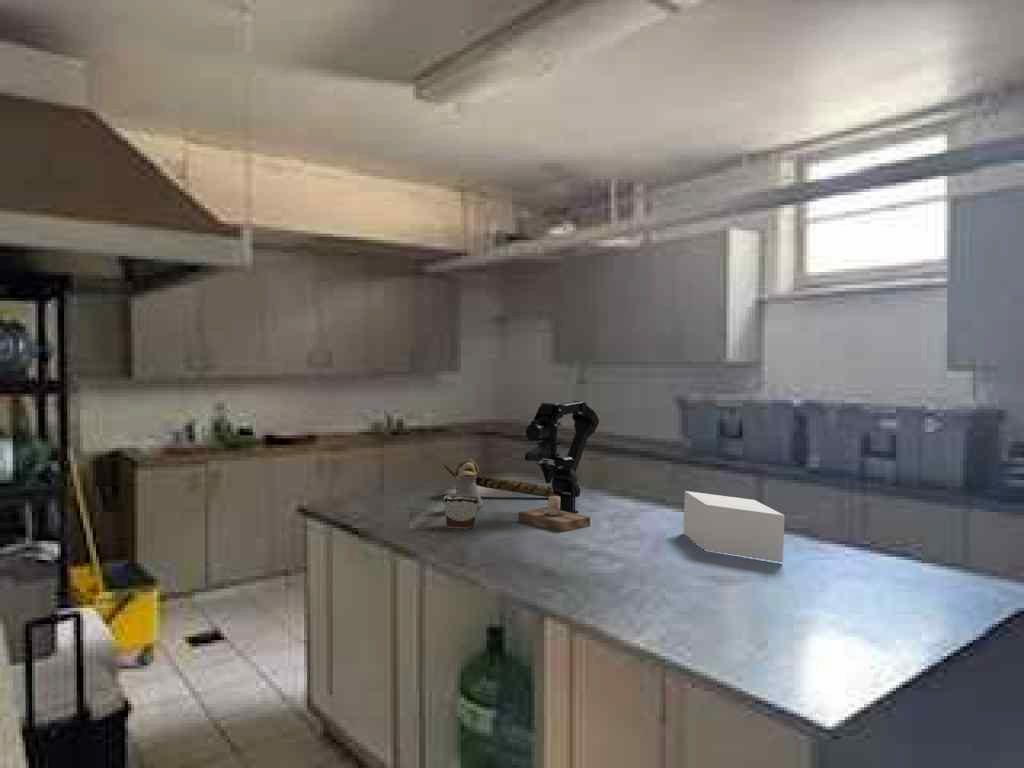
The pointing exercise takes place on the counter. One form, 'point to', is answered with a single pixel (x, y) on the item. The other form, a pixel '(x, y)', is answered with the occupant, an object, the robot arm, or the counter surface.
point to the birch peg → (554, 506)
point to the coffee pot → (467, 486)
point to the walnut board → (554, 520)
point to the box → (734, 526)
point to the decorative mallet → (501, 481)
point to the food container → (460, 510)
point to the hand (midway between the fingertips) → (548, 483)
